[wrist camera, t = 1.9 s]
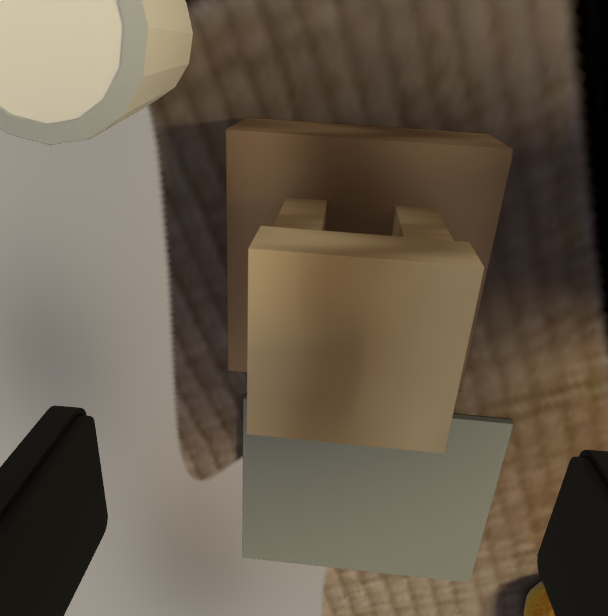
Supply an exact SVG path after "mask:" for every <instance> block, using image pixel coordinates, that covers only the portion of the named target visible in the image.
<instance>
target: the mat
mask: <svg viewBox="0 0 608 616" xmlns="http://www.w3.org/2000/svg"><path fill="white" fill-rule="evenodd" d="M512 427H513V422H512V420H511V419H502V418H491V417H481V416H470V415H460V414H453V416H452V421H451V426H450V430H449V435H448V440H447V444H446V449H445V454H443V453H433V452H423V451H412V450H402V449H392V448H382V447H372V446H362V445H352V444H342V443H332V442H321V441H311V440H301V439H291V438H281V437H271V436H261V435H251V434H247V394H245V395H244V398H243V557H244V558H253V559H263V560H271V561H280V562H289V563H298V564H306V565H315V566H325V567H333V568H342V569H351V570H360V571H369V572H378V573H387V574H396V575H405V576H414V577H423V578H432V579H441V580H450V581H459V582H468V583H470V579H471V575H472V572H473V568H474V564H475V561H476V557H477V554H478V550H479V546H480V543H481V539H482V536H483V532H484V528H485V525H486V521H487V518H488V514H489V510H490V507H491V503H492V499H493V496H494V492H495V489H496V485H497V481H498V478H499V474H500V471H501V467H502V463H503V460H504V456H505V452H506V449H507V445H508V442H509V438H510V434H511V431H512Z"/></svg>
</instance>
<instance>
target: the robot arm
mask: <svg viewBox="0 0 608 616" xmlns="http://www.w3.org/2000/svg"><path fill="white" fill-rule="evenodd" d="M107 519H108V514H107V507H106V500H105V494H104V486H103V479H102V472H101V464H100V457H99V451H98V443H97V436H96V429H95V423H94V419H93V417H91V416H87V415H86V412H85V410H84V409H82V408H76V407H64V406H52V407H50V408H49V409H48V410H47V411H46V413H45V414H44V415H43V416H42V418H41V419H40V420H39V421H38V422H37V424H36V425H35V426H34V427H33V428H32V430H31V431H30V432H29V433H28V435H27V436H26V437H25V438H24V439H23V440H22V442H21V443H20V444H19V445H18V447H17V448H16V449H15V450H14V451H13V453H12V454H11V455H10V456H9V457H8V459H7V460H6V461H5V462H4V463H3V465H2V466H1V467H0V616H64V614H65V612H66V610H67V608H68V606H69V604H70V602H71V600H72V598H73V596H74V594H75V592H76V590H77V588H78V586H79V584H80V582H81V580H82V577H83V576H84V574H85V572H86V570H87V568H88V565H89V563H90V561H91V560H92V557H93V555H94V553H95V551H96V549H97V547H98V545H99V543H100V541H101V539H102V537H103V535H104V533H105V530H106V525H107ZM537 563H538V571H539V574H540V577H541V580H542V582H543V585H544V587H545V590H546V593H547V595H548V598H549V600H550V603H551V606H552V608H553V611H554V614H555V616H608V452H607V451H595V450H583V451H582V452H581V453H580V455H579V457H573V458H572V459H571V460H570V462H569V465H568V468H567V471H566V474H565V477H564V480H563V483H562V486H561V489H560V491H559V494H558V497H557V500H556V503H555V506H554V509H553V512H552V515H551V518H550V520H549V523H548V526H547V529H546V532H545V535H544V538H543V541H542V544H541V547H540V550H539V553H538V559H537Z"/></svg>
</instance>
